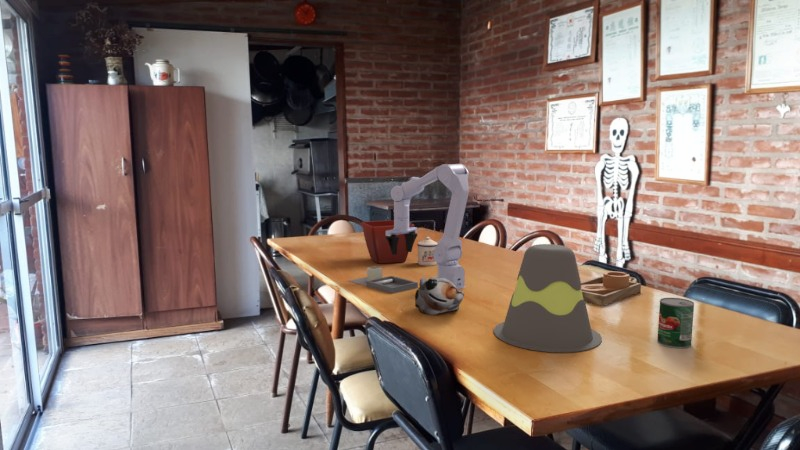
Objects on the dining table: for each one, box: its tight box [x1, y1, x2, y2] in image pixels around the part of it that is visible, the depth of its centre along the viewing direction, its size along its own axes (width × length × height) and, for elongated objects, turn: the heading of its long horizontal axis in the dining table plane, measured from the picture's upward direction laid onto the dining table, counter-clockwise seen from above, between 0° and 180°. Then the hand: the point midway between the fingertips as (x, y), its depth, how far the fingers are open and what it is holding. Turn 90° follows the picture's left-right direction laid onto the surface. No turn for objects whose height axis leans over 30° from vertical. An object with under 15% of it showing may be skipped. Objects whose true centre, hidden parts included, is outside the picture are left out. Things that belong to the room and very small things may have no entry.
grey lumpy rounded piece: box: [414, 276, 465, 316], centre depth 173 cm, size 15×12×14 cm
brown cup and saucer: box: [581, 270, 630, 295], centre depth 194 cm, size 18×8×7 cm, turn 104°
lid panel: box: [348, 276, 367, 287], centre depth 212 cm, size 11×12×1 cm
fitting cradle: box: [581, 275, 642, 306], centre depth 194 cm, size 15×25×3 cm, turn 132°
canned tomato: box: [656, 297, 695, 349], centre depth 145 cm, size 8×8×11 cm
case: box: [366, 275, 419, 294], centre depth 203 cm, size 14×12×2 cm
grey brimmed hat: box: [493, 243, 603, 354], centre depth 151 cm, size 28×28×24 cm
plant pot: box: [361, 219, 415, 264], centre depth 252 cm, size 19×19×17 cm
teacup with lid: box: [416, 236, 438, 267], centre depth 245 cm, size 12×9×12 cm
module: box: [366, 265, 383, 281], centre depth 211 cm, size 4×4×5 cm
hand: (401, 252), depth 217 cm, fingers open, 7 cm apart
